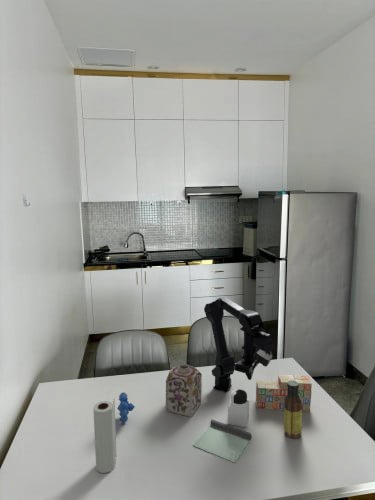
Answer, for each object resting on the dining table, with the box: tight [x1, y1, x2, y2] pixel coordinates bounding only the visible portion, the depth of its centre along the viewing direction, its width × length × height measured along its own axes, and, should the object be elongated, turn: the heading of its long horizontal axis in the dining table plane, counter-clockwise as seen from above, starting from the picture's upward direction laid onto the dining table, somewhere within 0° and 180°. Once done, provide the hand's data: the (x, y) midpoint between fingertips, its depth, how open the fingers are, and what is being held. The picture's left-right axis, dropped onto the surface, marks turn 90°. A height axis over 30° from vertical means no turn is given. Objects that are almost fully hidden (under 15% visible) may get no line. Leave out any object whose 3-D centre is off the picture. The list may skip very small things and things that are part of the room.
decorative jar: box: [165, 363, 203, 418], centre depth 148 cm, size 12×12×18 cm
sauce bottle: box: [283, 381, 303, 439], centre depth 131 cm, size 6×6×20 cm
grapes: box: [117, 392, 136, 424], centre depth 139 cm, size 12×7×12 cm, turn 10°
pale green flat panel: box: [192, 426, 250, 464], centre depth 127 cm, size 16×12×1 cm
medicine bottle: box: [227, 388, 250, 429], centre depth 139 cm, size 7×7×12 cm
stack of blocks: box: [255, 374, 312, 412], centre depth 149 cm, size 21×6×12 cm, turn 85°
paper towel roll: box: [93, 399, 117, 474], centre depth 115 cm, size 7×6×21 cm
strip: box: [210, 419, 252, 441], centre depth 134 cm, size 16×1×2 cm, turn 59°
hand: (249, 379), depth 148 cm, fingers closed
